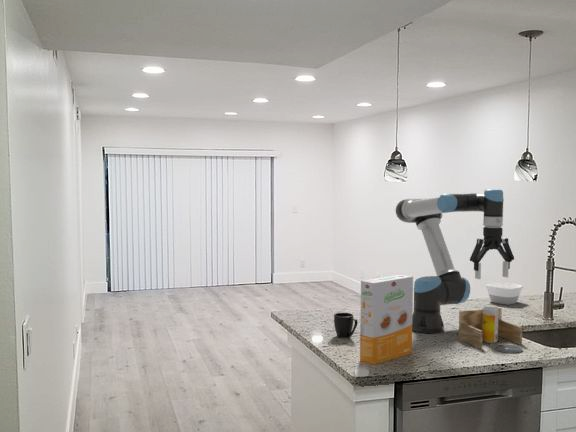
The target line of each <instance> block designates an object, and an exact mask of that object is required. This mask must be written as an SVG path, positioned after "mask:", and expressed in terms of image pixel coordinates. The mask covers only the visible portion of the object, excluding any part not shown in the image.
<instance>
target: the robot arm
mask: <svg viewBox="0 0 576 432" xmlns="http://www.w3.org/2000/svg"><path fill="white" fill-rule="evenodd" d="M483 191H484V193H473V192H471V193H443V194H440V195H439V196H434V197H428V198H427V197H426V198H404V199H402V200H400V201H399V202H398V203H397V205H396V207H395V215H396V217H397V218H398V219H399V220H400V221H402V222H403V223H409V224H412V223H415V225H416V229H418V230H420V231H421V233H422V236H423V239H424V241H425V244H426V247H427V250H428V253H429V257H430V258H431V262H432V266H433V267H434V272H435V273H436V276H435V275H434V276H433V275H430V276H429V275H428V276H420V277H419V278H416V279H415V281H414V282H413V312H412V332H417V333H420V334H421V333H423V334H438V333H439V334H440V333H442V332H444V331H445V325H444V321H443V319H442V314H441V306H447V305H458V304H462V303H465V302H467V300H468V299H469V297H470V295H471V284H470V282H469V280H468V279H467V278H465V277H464V276H463V277H462V275H461V273H460V271H459V270H457V269H455V266H454V263H453V260H452V257H451V255H450V252H449V249H448V247H447V243H446V241H445V239H444V236H443V233H442V229H441V227H440V223H441V221H442V220H441V219H442V218H443V214H446V213H447V214H448V213H455V212H459V213H460V212H461V213H463V212H465V213H466V212H481V213H482V212H483V224H482V225H483V228H482V230H483V232H482V235H483V238H476V243H475V246H474V249H473V251H472V253H471V255H470V257H469V261H470V262H472V263H473V271H475V272H474V278H475V279H477V280H481V278H482V275H481V274H482V273H481V272H482V263H481V261H482V260H483V258H484V256H485V255H486V254H487V252H488V251H491V250H497V251H498V253H499V255H500V256H501V257H502V258H503V261H502V277H503V278H509V270H510V268H511V265H510V264H511V262H512V261H514V260H515V257H514V254H513V251H512V249H511V247H510V244H509V238H507V237H503V231H504V230H503V225H504V223H503V221H504V215H503V214H504V201H505V199H504V191H503V190H502V189H485V190H483Z"/></svg>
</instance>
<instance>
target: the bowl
mask: <svg viewBox="0 0 576 432" xmlns="http://www.w3.org/2000/svg"><path fill="white" fill-rule="evenodd" d="M485 287H486V291H487V293H488V296H489V298H490V302H492V303H496V304H500V305H514V304H516V303H518V300H519V297H520V295H521V292H522V290H523V287H524V286H523V285H521V284H518V283H517V284H516V283H512V282H500V281H499V282H498V281H497V282H495V281H494V282H489V283H487V284H486V285H485Z"/></svg>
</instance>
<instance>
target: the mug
mask: <svg viewBox="0 0 576 432" xmlns="http://www.w3.org/2000/svg"><path fill="white" fill-rule="evenodd" d="M358 321H359V320H358V319H356V318H354V314H353V313H350V312H337V313H334V314H333V324H334V329H335V333H336V334H335V335H336V337H337V338H340V339H349V338H351V337H352V336H353V335H354V332H355V331H356V328H357V326H358Z"/></svg>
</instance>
